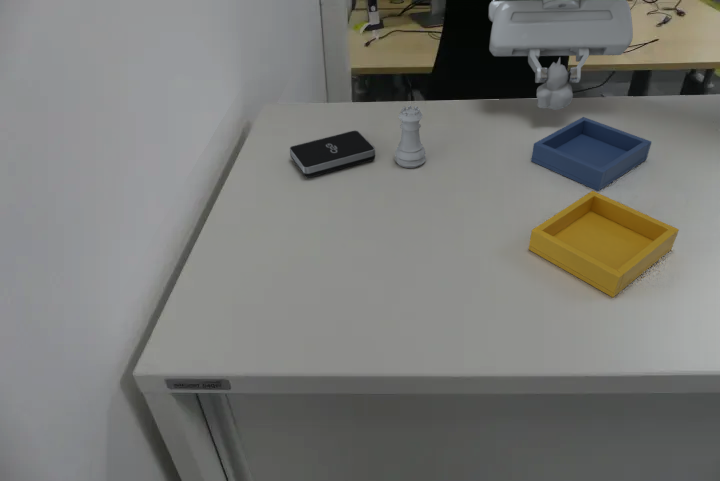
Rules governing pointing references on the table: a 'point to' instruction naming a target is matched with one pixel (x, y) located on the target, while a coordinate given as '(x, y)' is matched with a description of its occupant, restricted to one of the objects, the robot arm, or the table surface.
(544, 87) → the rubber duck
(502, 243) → the table surface
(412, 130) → the rook chess piece
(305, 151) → the external hard drive
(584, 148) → the blue tray
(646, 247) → the yellow tray
